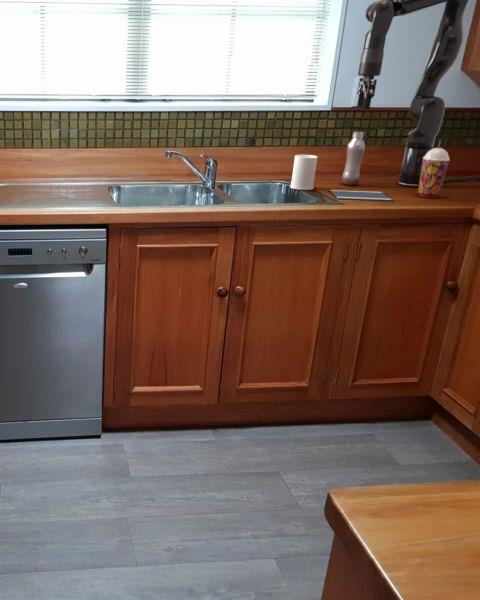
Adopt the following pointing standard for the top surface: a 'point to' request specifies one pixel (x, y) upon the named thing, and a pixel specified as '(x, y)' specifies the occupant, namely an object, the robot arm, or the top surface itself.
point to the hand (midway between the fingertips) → (363, 108)
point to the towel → (360, 195)
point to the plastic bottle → (353, 159)
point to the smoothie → (433, 172)
